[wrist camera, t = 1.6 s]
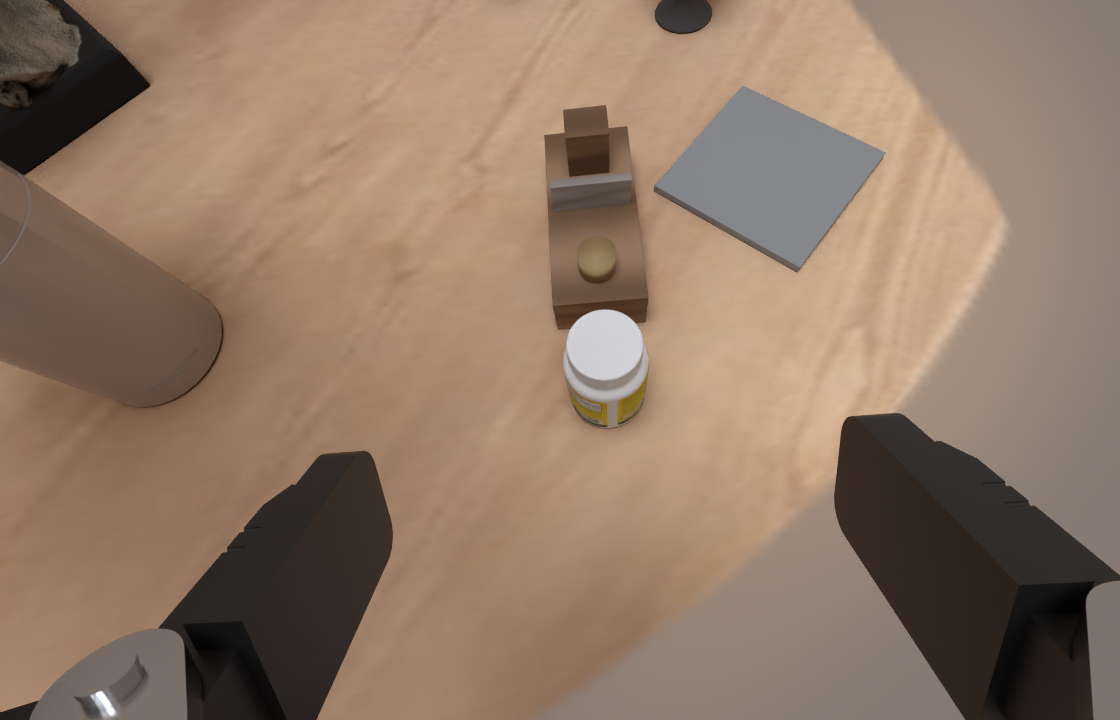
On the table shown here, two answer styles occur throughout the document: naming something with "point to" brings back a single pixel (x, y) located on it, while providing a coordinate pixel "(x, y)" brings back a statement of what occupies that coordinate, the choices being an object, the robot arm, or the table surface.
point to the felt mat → (769, 176)
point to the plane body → (593, 220)
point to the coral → (54, 79)
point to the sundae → (683, 15)
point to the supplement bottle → (606, 368)
